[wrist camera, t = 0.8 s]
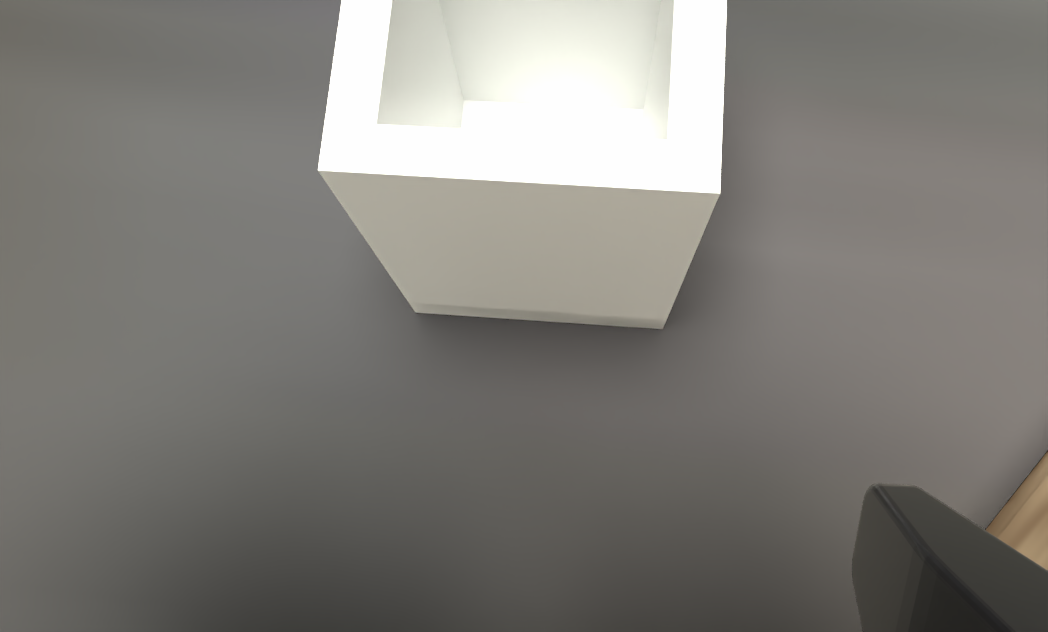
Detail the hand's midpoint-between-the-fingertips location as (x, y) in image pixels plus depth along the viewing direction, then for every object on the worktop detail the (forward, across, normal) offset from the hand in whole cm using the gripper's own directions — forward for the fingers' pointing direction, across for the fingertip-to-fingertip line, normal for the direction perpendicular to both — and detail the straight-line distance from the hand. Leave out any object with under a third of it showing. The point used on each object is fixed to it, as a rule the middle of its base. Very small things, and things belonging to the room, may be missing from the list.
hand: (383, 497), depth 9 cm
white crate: (+15, -1, +2) cm, 15 cm away
